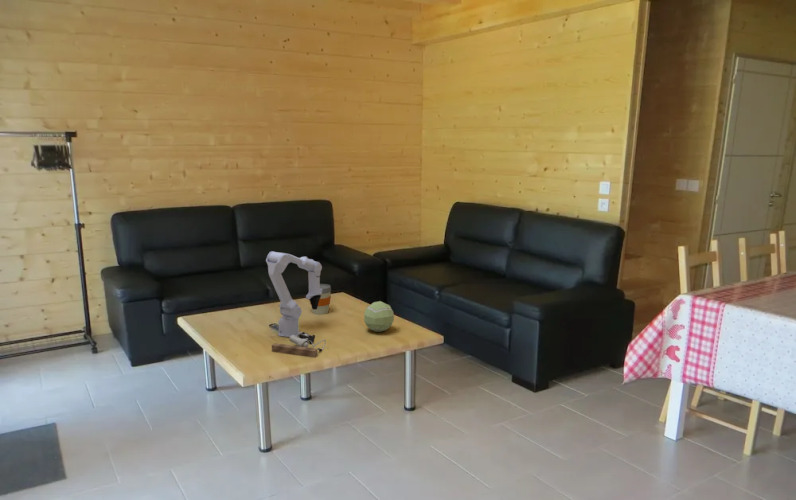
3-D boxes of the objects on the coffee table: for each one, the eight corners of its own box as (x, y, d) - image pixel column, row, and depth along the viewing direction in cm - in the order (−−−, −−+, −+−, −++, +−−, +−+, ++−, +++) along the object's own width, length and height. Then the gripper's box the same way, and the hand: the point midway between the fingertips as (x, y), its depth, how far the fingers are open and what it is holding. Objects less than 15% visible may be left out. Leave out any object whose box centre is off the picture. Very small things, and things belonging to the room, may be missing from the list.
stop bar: (271, 351, 266) (271, 345, 266) (275, 349, 269) (275, 343, 269) (314, 357, 259) (314, 351, 259) (317, 355, 262) (317, 348, 262)
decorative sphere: (399, 332, 294) (399, 304, 291) (373, 337, 286) (373, 308, 283) (384, 324, 306) (384, 297, 304) (359, 329, 299) (359, 301, 296)
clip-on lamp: (329, 353, 273) (302, 338, 282) (332, 341, 271) (305, 326, 280) (313, 359, 263) (285, 342, 272) (316, 346, 261) (288, 330, 270)
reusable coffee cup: (311, 308, 334) (310, 283, 331) (333, 309, 334) (332, 283, 331) (307, 315, 322) (306, 289, 319) (329, 315, 321) (329, 289, 318)
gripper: (314, 287, 290) (315, 313, 293) (327, 281, 304) (327, 306, 306) (302, 286, 292) (302, 312, 295) (315, 280, 306) (315, 304, 308)
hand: (314, 309), depth 301 cm, fingers closed
